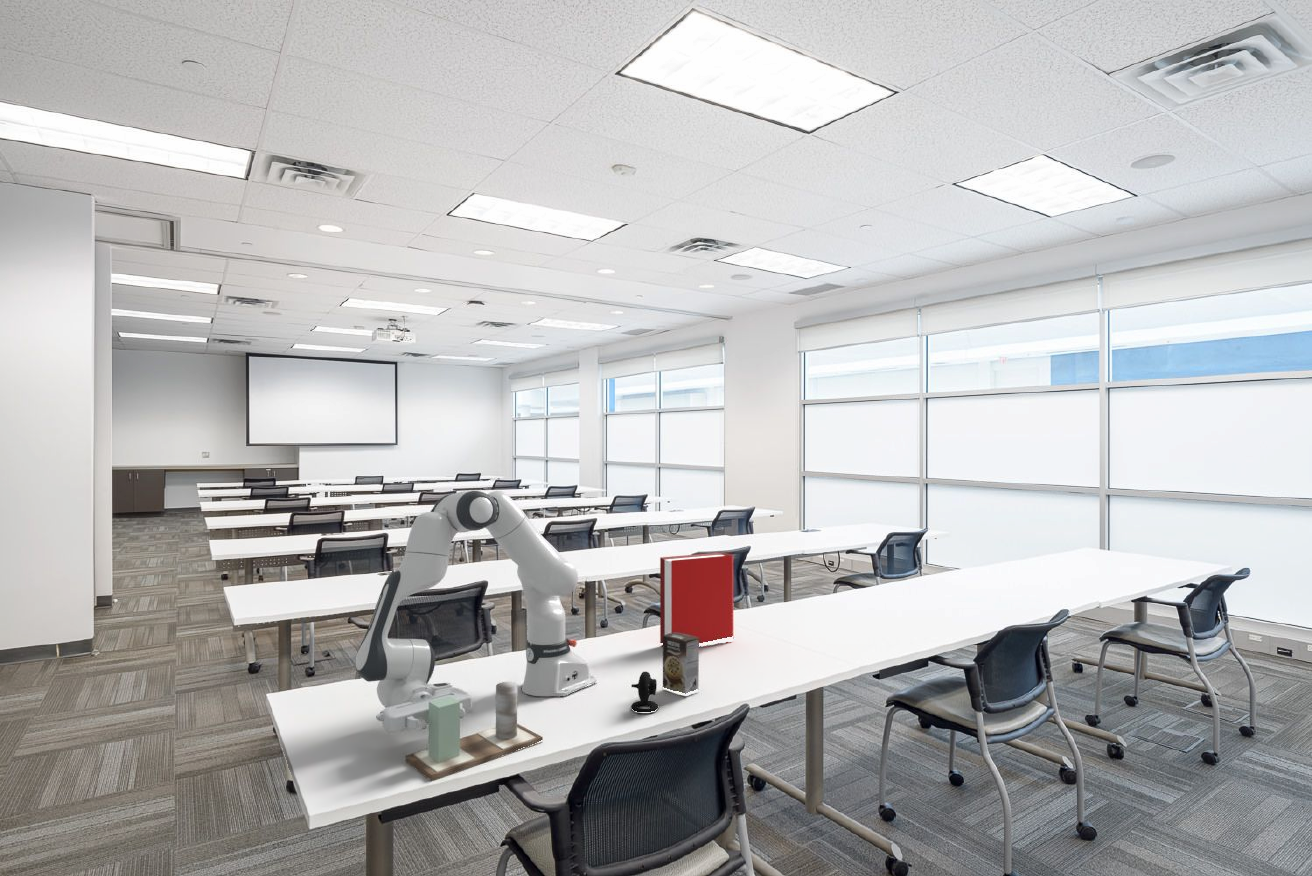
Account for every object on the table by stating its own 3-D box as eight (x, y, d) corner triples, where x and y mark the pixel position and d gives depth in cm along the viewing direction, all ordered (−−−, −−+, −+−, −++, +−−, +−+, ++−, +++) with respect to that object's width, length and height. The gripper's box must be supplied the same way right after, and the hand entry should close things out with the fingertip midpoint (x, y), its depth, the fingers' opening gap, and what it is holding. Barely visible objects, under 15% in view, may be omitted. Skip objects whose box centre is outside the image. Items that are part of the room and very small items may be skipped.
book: (671, 652, 236) (671, 560, 237) (660, 646, 243) (660, 557, 244) (735, 641, 249) (734, 554, 250) (722, 636, 256) (722, 552, 257)
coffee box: (661, 690, 197) (661, 635, 198) (676, 685, 202) (676, 630, 202) (685, 698, 191) (685, 640, 192) (699, 692, 196) (699, 636, 196)
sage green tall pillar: (449, 749, 155) (449, 696, 155) (459, 756, 151) (459, 702, 152) (428, 755, 151) (428, 701, 152) (438, 763, 148) (438, 707, 148)
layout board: (513, 726, 171) (513, 673, 171) (542, 742, 162) (542, 685, 162) (405, 761, 152) (406, 701, 152) (431, 781, 142) (431, 717, 143)
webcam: (655, 715, 178) (655, 677, 178) (628, 714, 180) (628, 676, 180) (660, 705, 186) (660, 668, 186) (634, 703, 187) (634, 667, 187)
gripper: (373, 701, 155) (398, 718, 145) (455, 680, 169) (483, 695, 159) (372, 729, 155) (397, 748, 145) (455, 706, 169) (483, 722, 159)
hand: (443, 720), depth 152 cm, fingers open, 8 cm apart
